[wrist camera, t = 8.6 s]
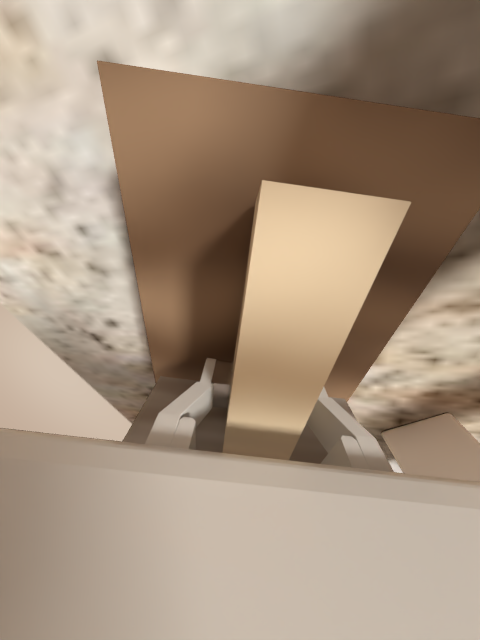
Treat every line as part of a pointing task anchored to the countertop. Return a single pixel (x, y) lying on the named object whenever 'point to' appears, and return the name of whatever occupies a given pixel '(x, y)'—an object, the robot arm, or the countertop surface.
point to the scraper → (290, 319)
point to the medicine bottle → (435, 448)
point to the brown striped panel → (242, 190)
